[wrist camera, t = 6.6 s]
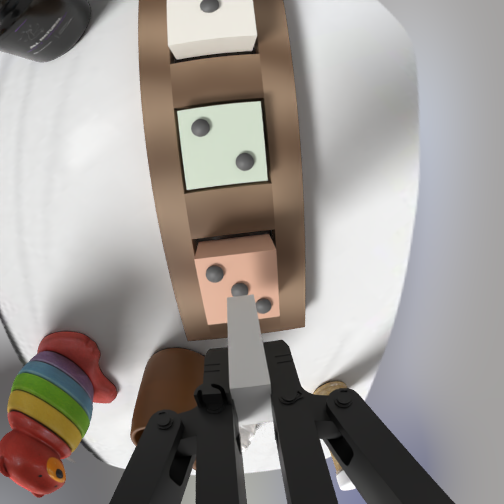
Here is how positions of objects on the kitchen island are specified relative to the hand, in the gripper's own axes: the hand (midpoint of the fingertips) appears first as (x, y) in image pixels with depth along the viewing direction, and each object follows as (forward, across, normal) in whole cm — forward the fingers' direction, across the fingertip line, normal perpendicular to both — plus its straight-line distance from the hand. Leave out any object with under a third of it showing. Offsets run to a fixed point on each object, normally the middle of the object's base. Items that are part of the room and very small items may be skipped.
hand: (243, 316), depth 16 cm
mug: (+7, -7, -14) cm, 17 cm away
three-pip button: (+5, 0, 0) cm, 5 cm away
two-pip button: (+7, 0, +9) cm, 12 cm away
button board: (+7, 0, +9) cm, 12 cm away
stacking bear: (+7, -21, -11) cm, 25 cm away
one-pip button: (+5, 0, +18) cm, 19 cm away
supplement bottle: (+7, -13, +23) cm, 28 cm away
